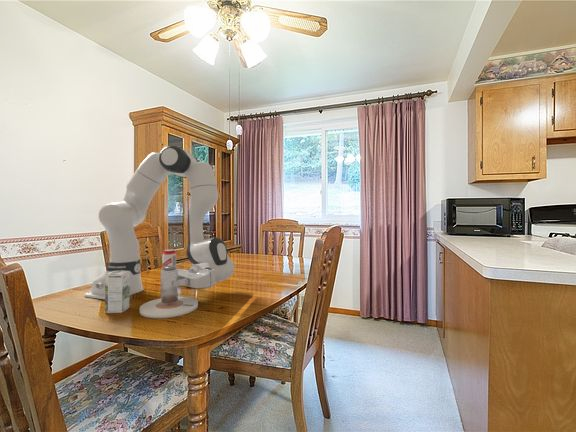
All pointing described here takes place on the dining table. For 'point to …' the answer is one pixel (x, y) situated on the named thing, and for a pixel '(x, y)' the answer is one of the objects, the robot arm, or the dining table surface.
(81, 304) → the dining table surface
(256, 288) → the dining table surface
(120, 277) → the syrup box
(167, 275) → the white drink can
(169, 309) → the disc
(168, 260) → the beer can
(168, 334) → the dining table surface
